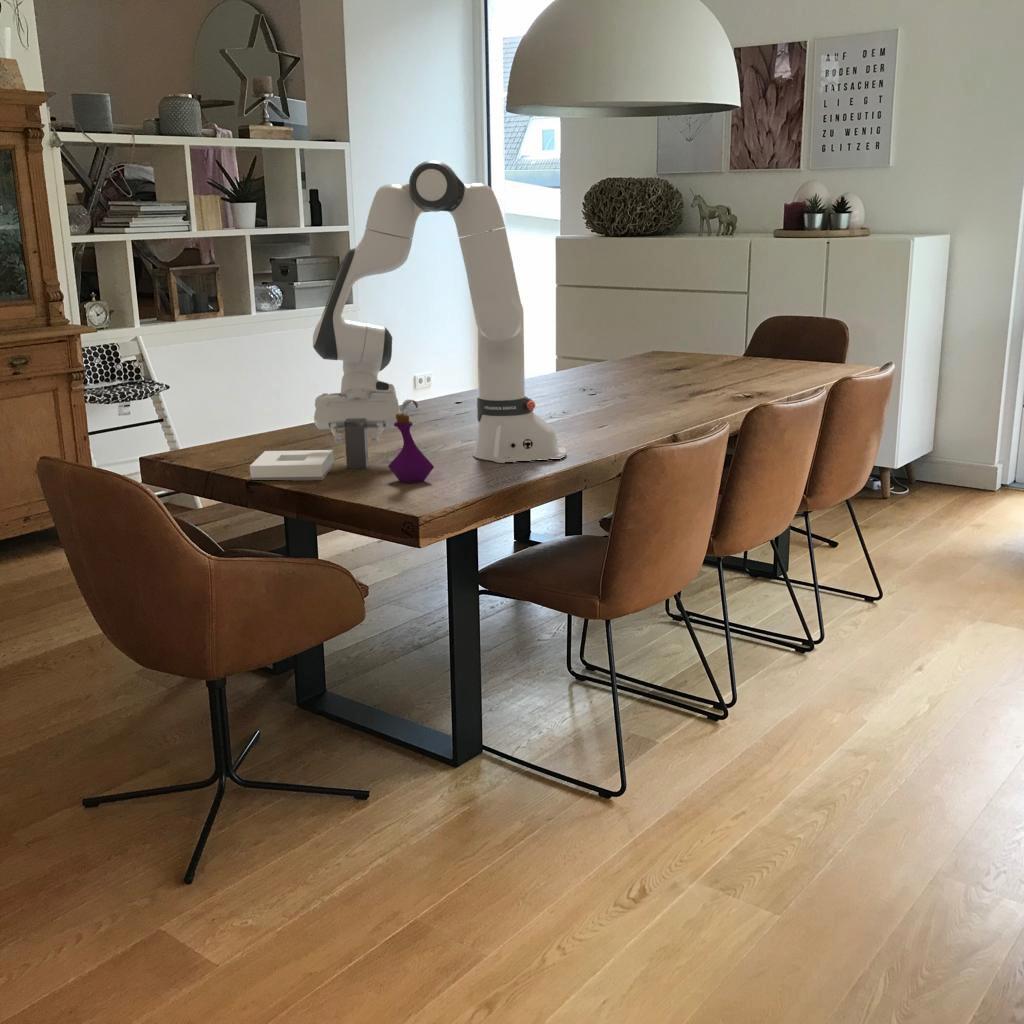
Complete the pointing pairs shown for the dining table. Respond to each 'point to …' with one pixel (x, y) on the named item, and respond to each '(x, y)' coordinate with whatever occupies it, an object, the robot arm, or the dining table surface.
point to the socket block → (292, 465)
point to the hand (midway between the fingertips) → (356, 441)
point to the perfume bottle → (409, 453)
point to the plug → (356, 442)
